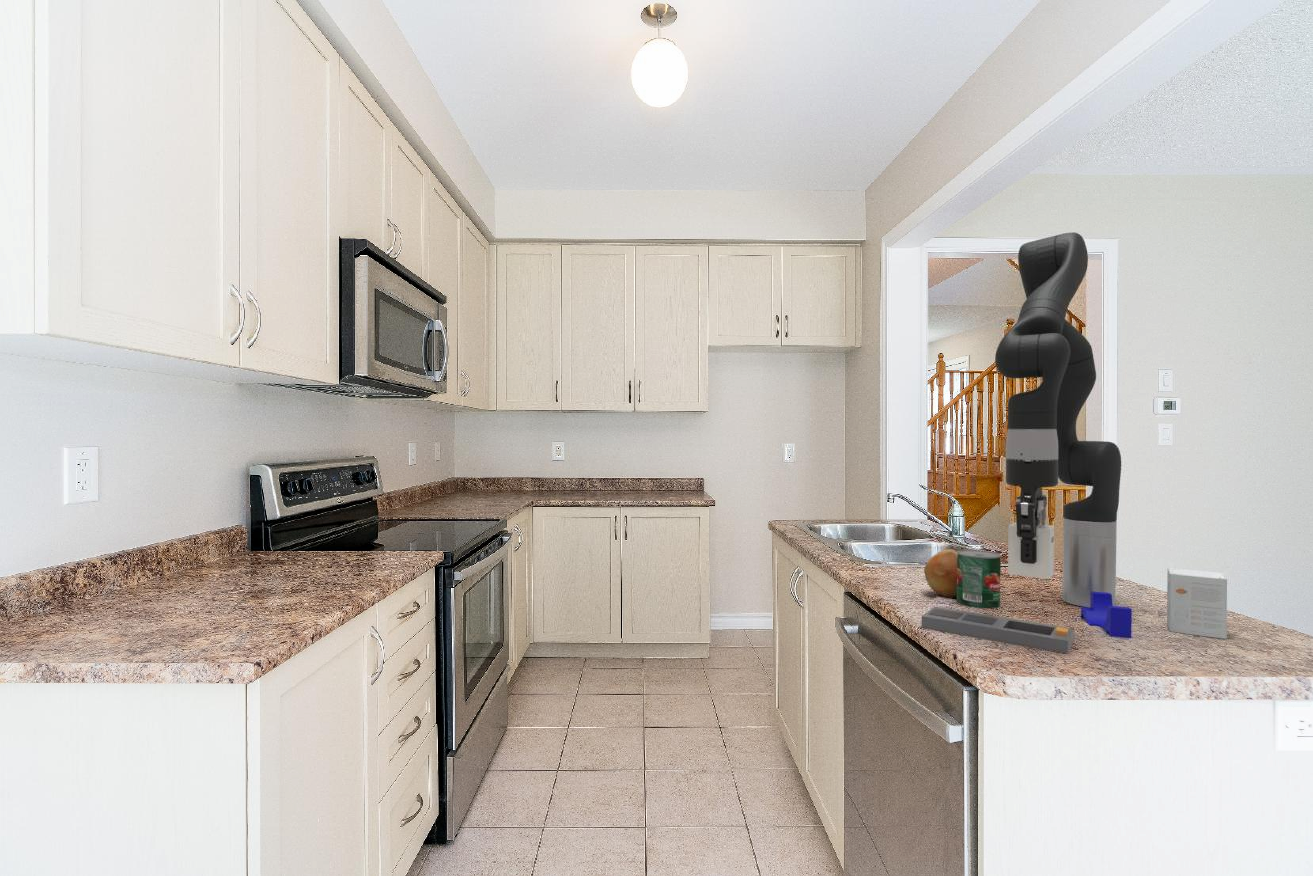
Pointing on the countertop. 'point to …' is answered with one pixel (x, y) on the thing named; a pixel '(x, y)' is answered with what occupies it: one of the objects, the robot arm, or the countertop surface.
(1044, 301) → the robot arm
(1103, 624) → the cable clip
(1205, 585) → the small box
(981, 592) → the canned tomato
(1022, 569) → the block
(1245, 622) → the countertop surface
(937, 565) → the onion
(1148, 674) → the countertop surface
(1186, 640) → the countertop surface
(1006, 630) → the power strip
